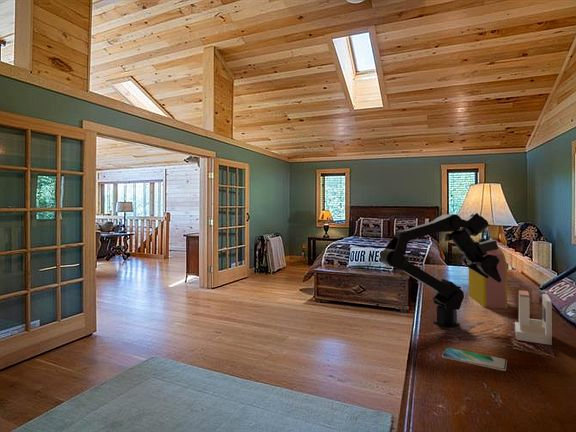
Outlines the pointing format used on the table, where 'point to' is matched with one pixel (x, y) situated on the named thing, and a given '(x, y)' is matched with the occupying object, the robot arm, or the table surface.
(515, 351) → the table surface
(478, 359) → the smartphone
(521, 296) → the off-white rectangular block
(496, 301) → the yellow tall block
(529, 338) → the cream l-shaped bracket
